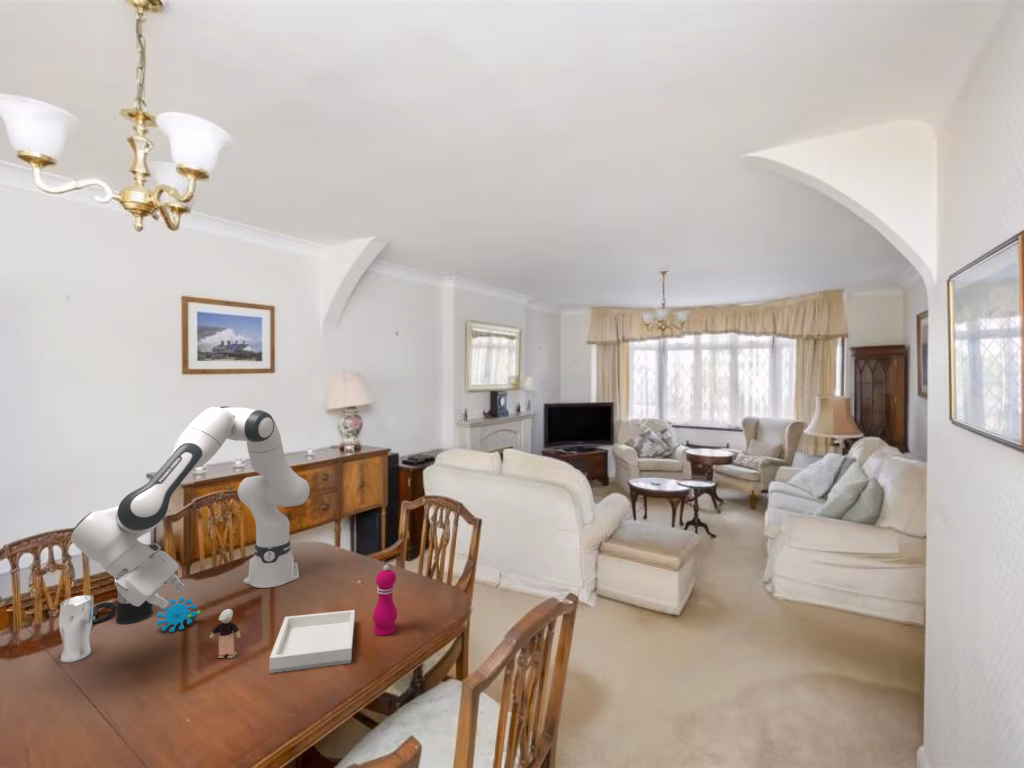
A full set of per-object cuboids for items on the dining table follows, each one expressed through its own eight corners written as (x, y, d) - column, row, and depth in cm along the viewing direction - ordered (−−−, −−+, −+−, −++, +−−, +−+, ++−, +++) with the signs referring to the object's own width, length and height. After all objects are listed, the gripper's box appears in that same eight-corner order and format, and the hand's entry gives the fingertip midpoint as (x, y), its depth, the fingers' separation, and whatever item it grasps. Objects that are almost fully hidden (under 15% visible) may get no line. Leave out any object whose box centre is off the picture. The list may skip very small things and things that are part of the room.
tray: (284, 630, 144) (285, 616, 144) (354, 622, 149) (354, 609, 149) (269, 673, 123) (269, 658, 123) (350, 663, 128) (351, 648, 128)
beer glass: (65, 651, 130) (66, 596, 130) (97, 646, 132) (98, 592, 132) (52, 666, 123) (54, 608, 123) (86, 660, 126) (88, 603, 126)
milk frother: (156, 617, 149) (157, 570, 149) (89, 636, 138) (90, 585, 137) (146, 602, 159) (147, 557, 159) (82, 618, 147) (83, 570, 147)
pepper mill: (367, 630, 145) (369, 564, 145) (388, 622, 150) (389, 558, 150) (380, 639, 140) (382, 571, 140) (401, 630, 145) (403, 565, 145)
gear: (150, 631, 138) (162, 596, 145) (152, 638, 142) (164, 604, 148) (194, 630, 142) (204, 596, 149) (195, 637, 146) (205, 603, 153)
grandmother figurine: (242, 650, 133) (243, 604, 133) (239, 657, 129) (240, 611, 129) (210, 654, 130) (212, 608, 130) (206, 662, 127) (208, 615, 126)
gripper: (121, 569, 114) (168, 606, 117) (159, 541, 134) (198, 573, 136) (99, 589, 113) (146, 626, 116) (140, 558, 133) (179, 590, 135)
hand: (174, 597), depth 126 cm, fingers open, 8 cm apart
